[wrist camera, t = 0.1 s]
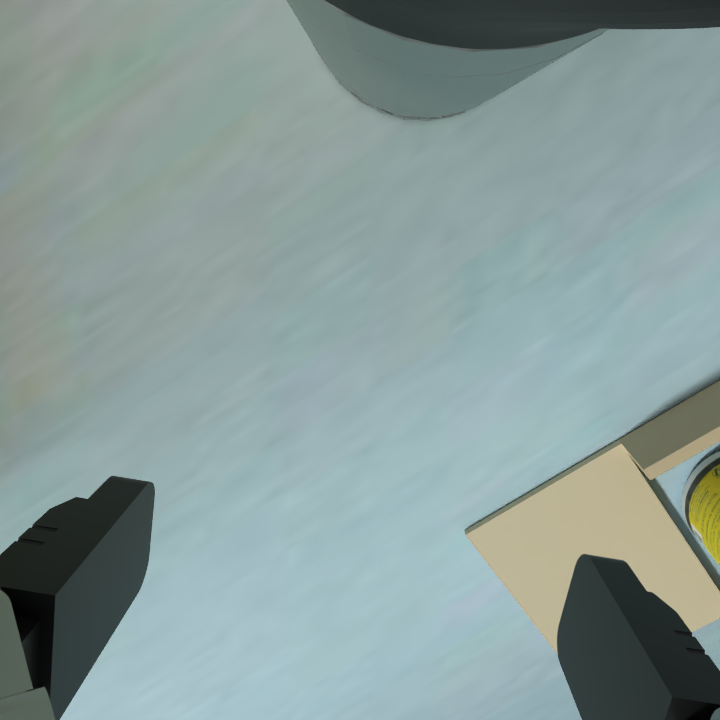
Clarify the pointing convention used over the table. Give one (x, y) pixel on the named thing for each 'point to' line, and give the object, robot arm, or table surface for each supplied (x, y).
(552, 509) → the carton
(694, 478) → the supplement bottle
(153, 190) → the table surface
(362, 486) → the table surface
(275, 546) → the table surface
